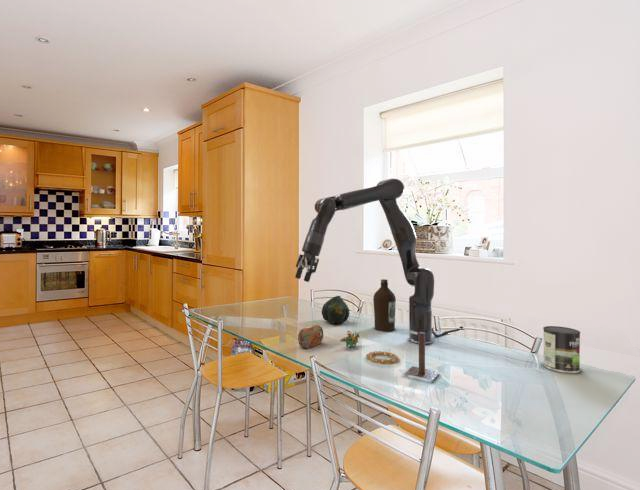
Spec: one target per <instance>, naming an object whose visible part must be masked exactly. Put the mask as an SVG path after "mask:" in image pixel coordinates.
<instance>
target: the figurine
mask: <svg viewBox="0 0 640 490" xmlns="http://www.w3.org/2000/svg"><path fill="white" fill-rule="evenodd" d="M351 333H352V332H351V330H347V336H346V337H343V338H341V339H340V340H339V342H341V343H343V342H344V343H345V344H346V348H349V349H352V347H353V346H354V348H355V347H356V345H357V343H359V338H361V337H360V333H359V332H354V333H352V334H351Z"/></svg>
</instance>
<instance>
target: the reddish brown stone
mask: <svg viewBox="0 0 640 490" xmlns="http://www.w3.org/2000/svg"><path fill="white" fill-rule="evenodd" d="M323 339H324V330H323V328H322V327H321V325H315V324H313V325H310V326H307V327H303V328H301V329H300V330H299V332H298V334H297V341H298V342H297V343H298V345H299V346H300V347H301V348H304V349H310V348H313V347H316V346H318V345H321V343H322V342H323Z"/></svg>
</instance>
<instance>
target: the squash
mask: <svg viewBox="0 0 640 490" xmlns="http://www.w3.org/2000/svg"><path fill="white" fill-rule="evenodd" d="M321 316H322V318H323V320H324V321H327V322H329V323H330V324H332V325H334V324H335V325H336V324H338V325H340V324H341V323H345V322H347V320H348V319H349V318H350V307H349V306H348V305H347V303H346V302H345V300H344V299H343V298H342V297H341V295H336V296H333V297H331V298H330V299H328V300H327V301H326V302H325V303H324V304H323V305H322V308H321Z"/></svg>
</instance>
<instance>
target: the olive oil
mask: <svg viewBox="0 0 640 490" xmlns="http://www.w3.org/2000/svg"><path fill="white" fill-rule="evenodd" d="M396 299H397V298H396V294H395V292H393V291H392V290H391V289H390V288H389V282H388V279H387V278H383V279H382V278H381V279H380V288H378V289H377V290H376V291H375V293H374V294H373V299H372V300H373V301H372V302H373V316H374V328H375V330H376V331H380V332H393V331H395V328H396V306H397V305H396V302H397V300H396Z"/></svg>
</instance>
